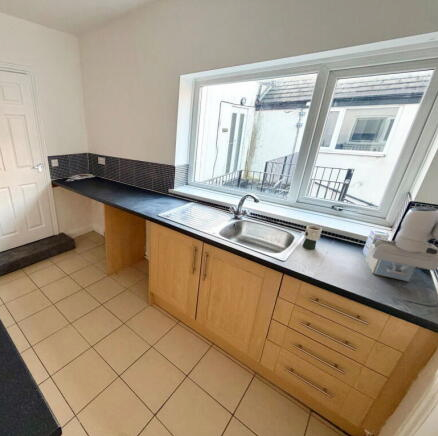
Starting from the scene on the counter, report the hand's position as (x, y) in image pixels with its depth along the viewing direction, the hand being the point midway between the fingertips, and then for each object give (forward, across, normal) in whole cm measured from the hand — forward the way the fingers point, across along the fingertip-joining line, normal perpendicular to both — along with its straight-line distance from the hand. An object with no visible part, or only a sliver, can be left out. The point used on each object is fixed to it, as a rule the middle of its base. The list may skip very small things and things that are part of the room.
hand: (396, 271), depth 107 cm
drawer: (+4, 0, +7) cm, 8 cm away
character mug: (+5, -32, +18) cm, 37 cm away
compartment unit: (+5, 0, +11) cm, 12 cm away
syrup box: (+5, -3, +25) cm, 26 cm away
